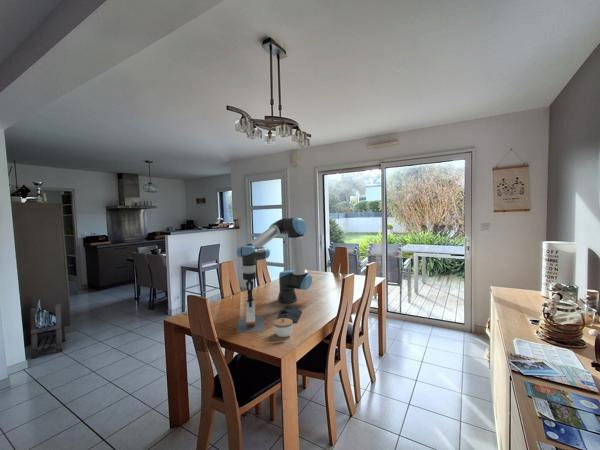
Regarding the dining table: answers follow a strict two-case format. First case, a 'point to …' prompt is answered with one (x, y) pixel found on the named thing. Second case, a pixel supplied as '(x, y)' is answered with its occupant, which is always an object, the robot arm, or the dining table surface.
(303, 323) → the dining table surface
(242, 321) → the mat
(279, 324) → the lidded jar
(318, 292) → the dining table surface
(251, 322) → the block
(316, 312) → the dining table surface
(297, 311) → the dark slate chunk
